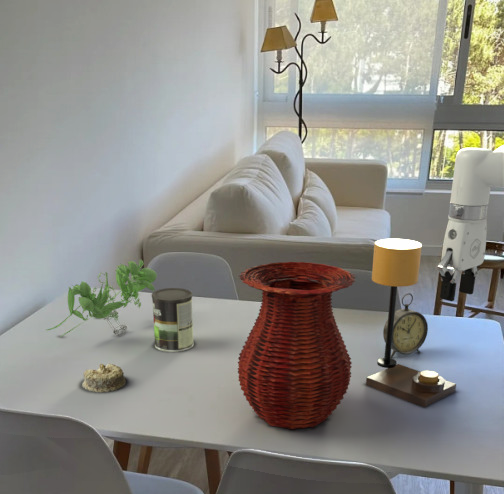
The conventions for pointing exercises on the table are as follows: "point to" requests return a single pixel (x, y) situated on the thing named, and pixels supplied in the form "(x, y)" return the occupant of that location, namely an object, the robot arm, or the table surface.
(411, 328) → the alarm clock
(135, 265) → the plant cuttings
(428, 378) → the lamp switch
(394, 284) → the lamp
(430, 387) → the lamp base
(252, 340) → the vase
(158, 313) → the coffee can
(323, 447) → the table surface
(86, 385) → the cake
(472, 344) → the table surface
